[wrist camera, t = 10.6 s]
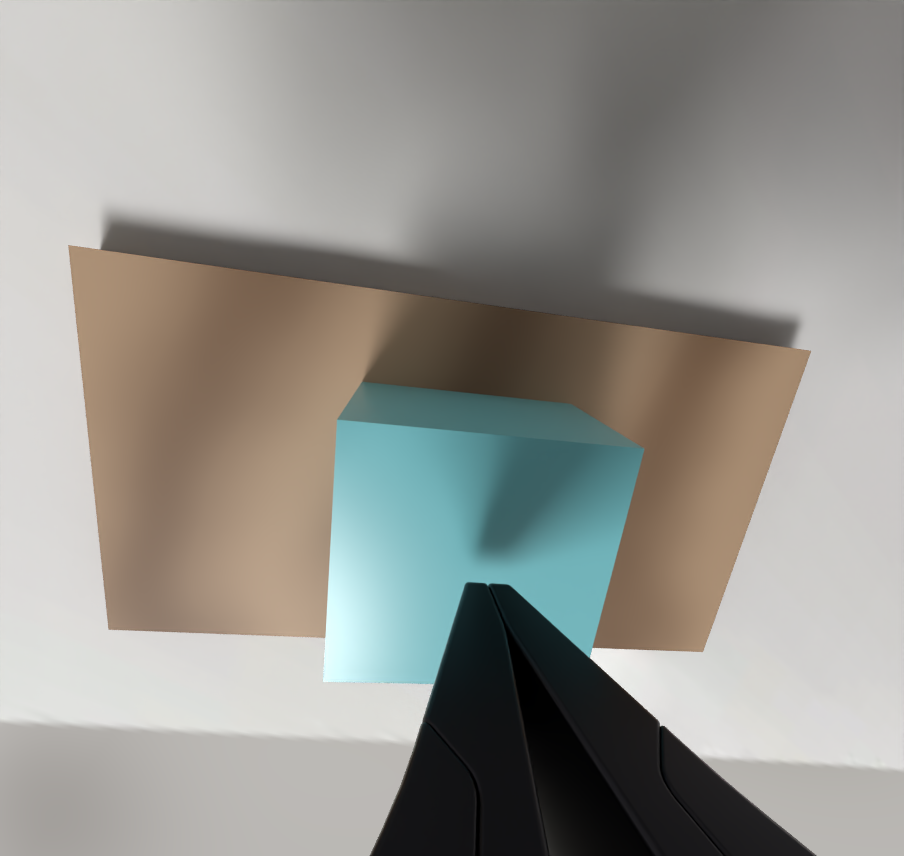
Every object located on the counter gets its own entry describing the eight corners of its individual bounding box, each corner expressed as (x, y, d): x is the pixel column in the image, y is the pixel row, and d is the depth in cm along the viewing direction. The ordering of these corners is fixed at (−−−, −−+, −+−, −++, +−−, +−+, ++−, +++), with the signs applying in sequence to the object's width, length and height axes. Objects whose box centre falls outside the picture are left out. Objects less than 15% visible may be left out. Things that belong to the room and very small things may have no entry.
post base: (782, 347, 13) (906, 361, 10) (685, 631, 16) (757, 715, 13) (98, 250, 11) (-42, 225, 7) (129, 606, 14) (39, 703, 10)
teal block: (571, 403, 12) (644, 449, 8) (534, 580, 14) (582, 686, 10) (362, 381, 11) (336, 419, 8) (348, 571, 13) (323, 681, 9)
